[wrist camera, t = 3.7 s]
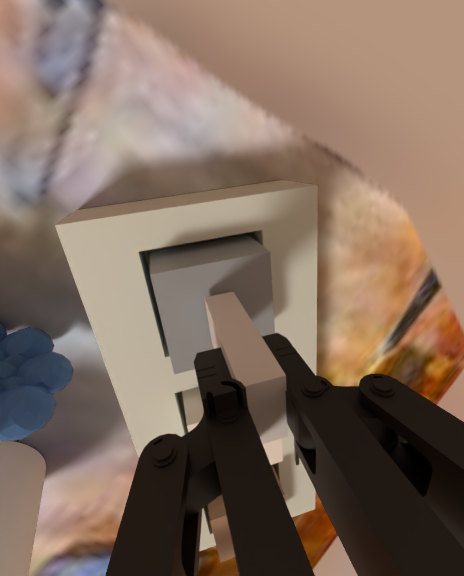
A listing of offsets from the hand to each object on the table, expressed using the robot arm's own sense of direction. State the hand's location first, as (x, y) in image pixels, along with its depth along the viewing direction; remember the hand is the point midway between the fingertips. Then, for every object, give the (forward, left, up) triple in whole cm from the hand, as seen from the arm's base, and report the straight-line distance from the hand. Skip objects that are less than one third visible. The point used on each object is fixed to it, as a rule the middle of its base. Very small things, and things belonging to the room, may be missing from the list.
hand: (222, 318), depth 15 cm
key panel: (-10, 0, -8) cm, 13 cm away
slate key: (0, 0, -4) cm, 4 cm away
